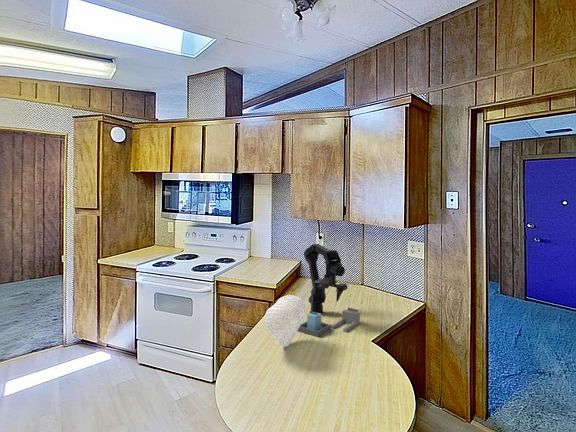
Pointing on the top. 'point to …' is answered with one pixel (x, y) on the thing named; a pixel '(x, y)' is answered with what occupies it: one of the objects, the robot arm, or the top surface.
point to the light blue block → (314, 321)
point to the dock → (348, 319)
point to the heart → (299, 320)
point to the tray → (318, 333)
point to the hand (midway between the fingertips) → (330, 299)
